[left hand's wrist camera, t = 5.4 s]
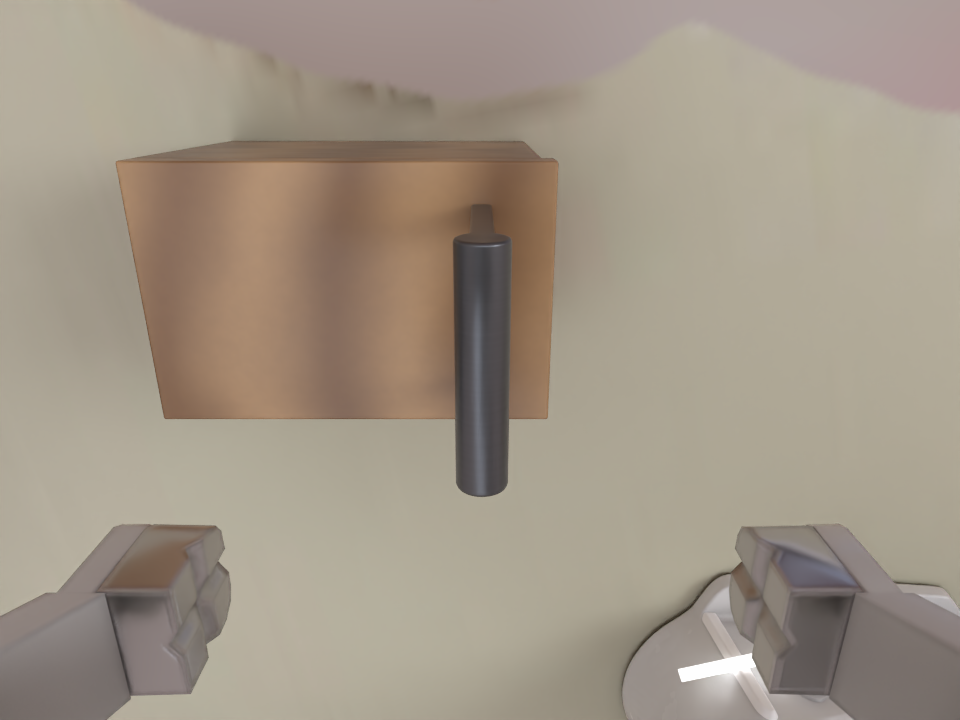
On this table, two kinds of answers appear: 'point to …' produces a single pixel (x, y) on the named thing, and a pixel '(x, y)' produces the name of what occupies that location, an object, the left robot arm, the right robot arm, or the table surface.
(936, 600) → the left robot arm
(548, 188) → the lid
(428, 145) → the chest
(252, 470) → the table surface
